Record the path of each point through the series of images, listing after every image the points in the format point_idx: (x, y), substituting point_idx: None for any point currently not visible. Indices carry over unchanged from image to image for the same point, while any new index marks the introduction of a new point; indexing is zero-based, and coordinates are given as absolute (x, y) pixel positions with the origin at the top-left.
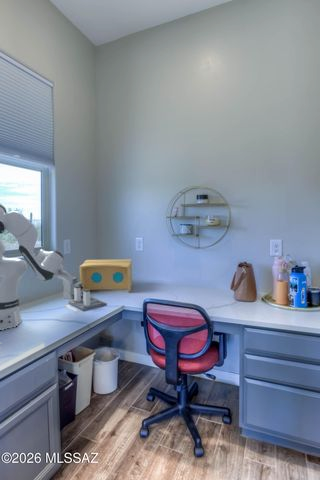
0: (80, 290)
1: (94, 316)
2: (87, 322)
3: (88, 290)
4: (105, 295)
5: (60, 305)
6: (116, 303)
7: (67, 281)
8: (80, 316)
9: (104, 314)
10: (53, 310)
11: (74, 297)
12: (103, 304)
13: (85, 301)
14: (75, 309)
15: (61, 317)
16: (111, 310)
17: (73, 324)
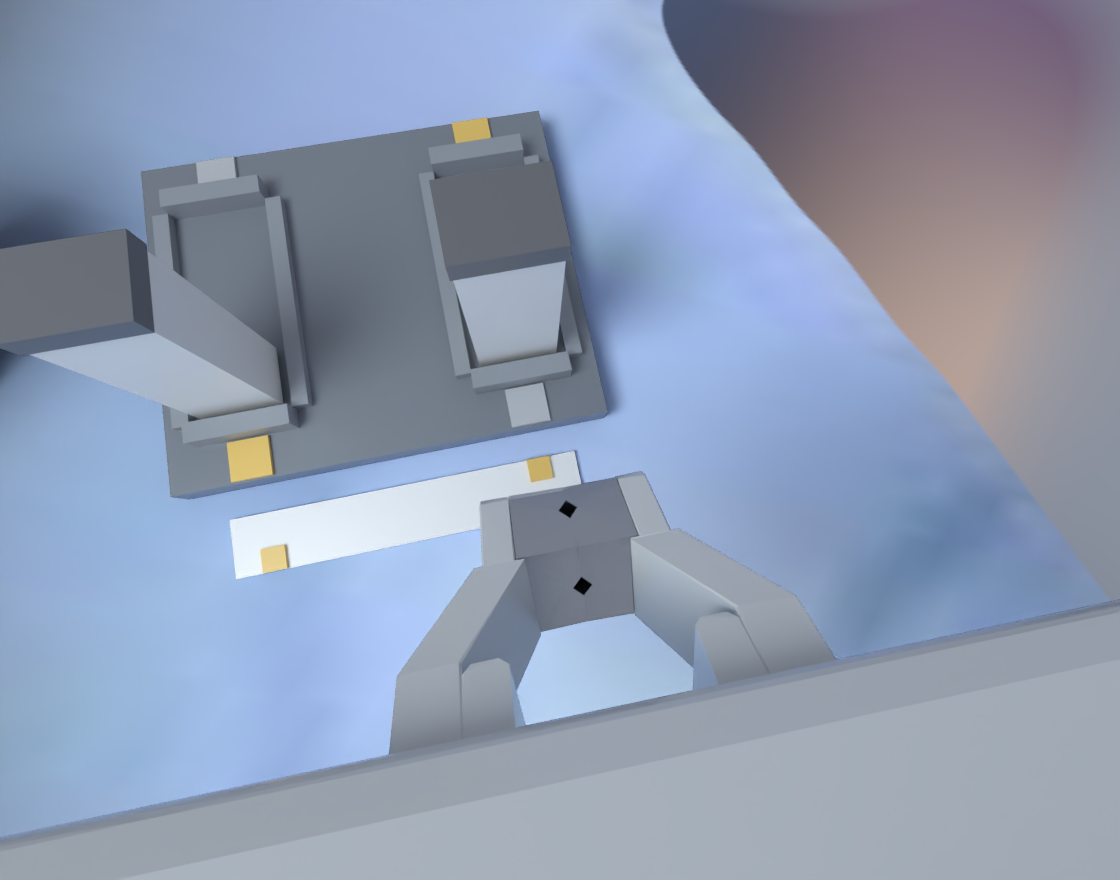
0: (181, 277)
1: (837, 359)
2: (980, 475)
3: (557, 196)
4: (145, 6)
5: (190, 616)
6: (538, 24)
7: (519, 650)
8: (764, 491)
9: (826, 252)
10: (354, 747)
11: (173, 405)
12: (547, 154)
13: (535, 333)
14: (497, 482)
15: None
16: (740, 150)
17: (976, 623)
